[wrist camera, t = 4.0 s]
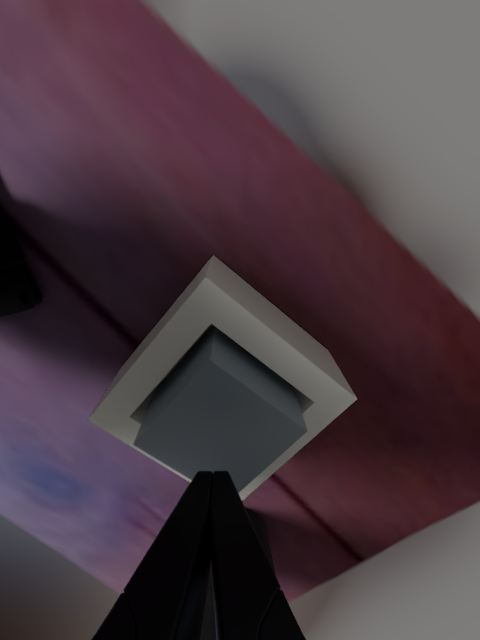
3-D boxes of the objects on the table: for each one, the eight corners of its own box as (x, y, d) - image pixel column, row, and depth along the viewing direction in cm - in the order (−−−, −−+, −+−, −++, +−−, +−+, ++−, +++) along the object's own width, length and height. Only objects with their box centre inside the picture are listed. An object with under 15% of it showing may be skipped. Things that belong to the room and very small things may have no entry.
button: (229, 442, 15) (228, 502, 12) (153, 392, 14) (132, 444, 11) (292, 381, 14) (307, 430, 11) (215, 322, 13) (209, 360, 10)
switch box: (233, 441, 18) (233, 508, 14) (121, 366, 16) (87, 420, 12) (328, 350, 16) (357, 399, 12) (213, 254, 14) (205, 277, 10)
